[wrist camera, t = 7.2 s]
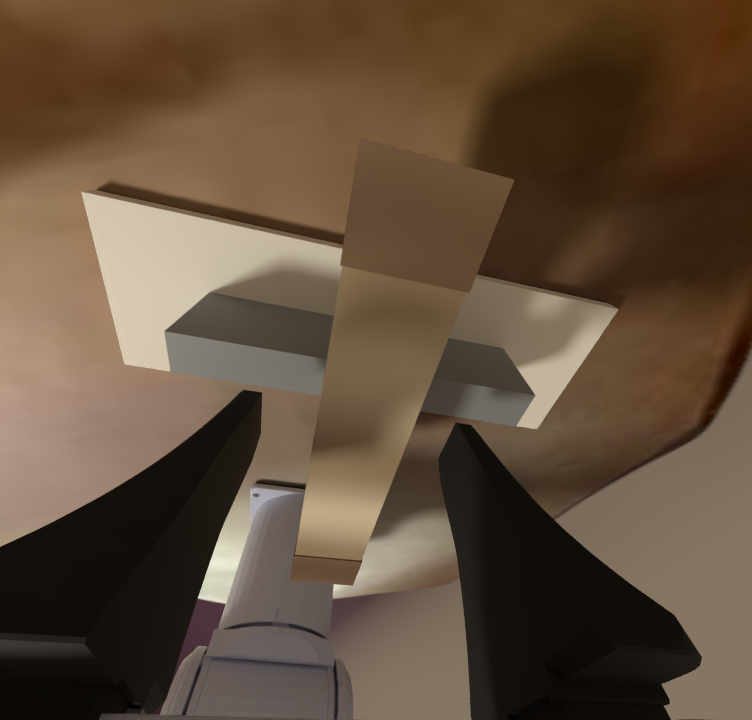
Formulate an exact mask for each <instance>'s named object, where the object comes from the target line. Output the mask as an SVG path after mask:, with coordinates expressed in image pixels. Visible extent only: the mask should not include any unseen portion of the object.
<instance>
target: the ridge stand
mask: <svg viewBox="0 0 752 720" xmlns="http://www.w3.org/2000/svg"><path fill="white" fill-rule="evenodd" d="M82 196H83V200H84V204H85V208H86V212H87V216H88V220H89V224H90V228H91V232H92V236H93V240H94V244H95V248H96V252H97V256H98V260H99V264H100V268H101V272H102V276H103V280H104V284H105V288H106V292H107V296H108V300H109V304H110V308H111V312H112V316H113V320H114V324H115V328H116V332H117V336H118V340H119V344H120V348H121V352H122V356H123V360H124V364H127V365H133V366H139V367H146V368H152V369H158V370H165V371H171V372H173V373H180V374H186V375H192V376H199V377H205V378H211V379H218V380H224V381H230V382H237V383H243V384H249V385H256V386H262V387H269V388H275V389H281V390H288V391H294V392H300V393H307V394H313V395H319V396H321V392H322V386H323V380H324V374H325V368H326V362H327V355H328V349H329V343H330V337H331V331H332V325H333V319H334V313H335V307H336V300H337V294H338V288H339V282H340V276H341V270H342V266H341V265H340V262H341V255H342V249H343V245H342V244H337V243H333V242H328V241H324V240H319V239H315V238H310V237H306V236H301V235H297V234H292V233H288V232H283V231H279V230H274V229H270V228H265V227H260V226H256V225H251V224H247V223H242V222H238V221H233V220H229V219H224V218H220V217H215V216H211V215H206V214H202V213H197V212H193V211H188V210H184V209H179V208H175V207H170V206H166V205H161V204H156V203H152V202H147V201H143V200H138V199H134V198H129V197H125V196H120V195H116V194H111V193H107V192H102V191H98V190H91V191H83V192H82ZM617 311H618V309H617V308H615V307H614V306H612V305H611V304H609V303H604V302H600V301H595V300H591V299H586V298H582V297H577V296H573V295H568V294H563V293H559V292H554V291H550V290H545V289H541V288H536V287H532V286H527V285H523V284H518V283H514V282H509V281H505V280H500V279H496V278H491V277H487V276H482V275H478V274H477V275H476V278H475V280H474V283H473V285H472V288H471V290H470V293H466V295H465V298H464V301H463V303H462V306H461V308H460V311H459V313H458V316H457V318H456V321H455V323H454V326H453V328H452V331H451V334H450V336H449V339H448V341H447V344H446V346H445V349H444V351H443V354H442V356H441V359H440V361H439V364H438V367H437V369H436V372H435V374H434V377H433V379H432V382H431V384H430V387H429V389H428V392H427V394H426V397H425V400H424V402H423V405H422V407H421V410H420V411H421V412H427V413H434V414H440V415H446V416H453V417H459V418H465V419H472V420H478V421H484V422H491V423H497V424H504V425H510V426H520V427H526V428H533V429H537V428H538V427H539V425H540V424H541V422H542V421H543V419H544V418H545V416H546V415H547V413H548V412H549V411H550V409H551V408H552V406H553V405H554V403H555V402H556V400H557V399H558V397H559V396H560V394H561V393H562V392H563V390H564V389H565V387H566V386H567V384H568V383H569V381H570V380H571V378H572V377H573V375H574V374H575V373H576V371H577V370H578V368H579V367H580V365H581V364H582V362H583V361H584V359H585V358H586V356H587V355H588V354H589V352H590V351H591V349H592V348H593V346H594V345H595V343H596V342H597V340H598V339H599V337H600V336H601V335H602V333H603V332H604V330H605V329H606V327H607V326H608V324H609V323H610V321H611V320H612V318H613V317H614V316H615V314H616V313H617Z"/></svg>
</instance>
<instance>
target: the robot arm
mask: <svg viewBox="0 0 752 720" xmlns="http://www.w3.org/2000/svg"><path fill="white" fill-rule="evenodd" d="M261 407H262V393H261V392H254V391H248V390H243V391H242V392H240V393H239V394H238V395H237V396H236V397H235V398H234V399H233V400H232V401H231V402H230V403H229V404H228V405H227V406H226V407H224V408H223V409H222V410H221V411H220V412H219V413H218V414H217V415H216V416H214V417H213V418H212V419H211V420H210V421H209V422H207V423H206V424H205V425H204V426H203V427H202V428H200V429H199V430H198V431H197V432H196V433H194V434H193V435H192V436H191V437H189V438H188V439H187V440H185V441H184V442H183V443H181V444H180V445H179V446H178V447H176V448H175V449H174V450H172V451H171V452H170V453H168V454H167V455H165V456H164V457H163V458H161V459H160V460H158V461H157V462H155V463H154V464H152V465H151V466H149V467H148V468H146V469H145V470H143V471H142V472H140V473H139V474H137V475H136V476H134V477H132V478H131V479H129V480H127V481H126V482H124V483H123V484H121V485H119V486H118V487H116V488H114V489H113V490H111V491H109V492H108V493H106V494H104V495H102V496H101V497H99V498H97V499H95V500H93V501H92V502H90V503H88V504H86V505H84V506H82V507H80V508H78V509H77V510H75V511H73V512H71V513H69V514H67V515H65V516H63V517H62V518H60V519H58V520H56V521H54V522H52V523H50V524H48V525H46V526H44V527H42V528H40V529H38V530H36V531H34V532H32V533H29V534H27V535H25V536H23V537H21V538H19V539H16V540H14V541H12V542H10V543H8V544H6V545H3V546H1V547H0V720H353V693H352V684H351V679H350V676H349V674H348V671H347V670H346V668H345V665H344V662H343V661H342V659H340V658H335V644H336V642H335V641H334V640H329V631H330V620H331V608H332V597H333V585H334V584H328V583H315V582H303V581H291V580H290V575H291V569H292V562H293V556H294V551H295V545H296V540H297V535H298V530H299V524H300V519H301V514H302V508H303V502H304V496H305V490H306V489H298V488H290V487H281V486H273V485H265V484H253V485H252V487H251V490H250V531H249V534H248V537H247V540H246V543H245V546H244V550H243V553H242V556H241V559H240V562H239V565H238V568H237V571H236V575H235V578H234V581H233V584H232V587H231V590H230V593H229V596H228V600H227V603H226V606H225V609H224V612H223V615H222V618H221V621H220V625H219V628H218V629H216V630H214V633H213V636H212V639H211V642H210V645H209V648H208V651H207V647H203V646H198V647H197V648H196V649H195V650H194V652H193V653H191V654H190V655H189V656H188V657H186V658H185V659H184V660H183V662H182V664H181V665H180V668H179V670H178V672H177V674H176V676H175V679H174V681H173V683H172V685H171V682H172V679H173V675H174V672H175V668H176V665H177V662H178V659H179V655H180V652H181V649H182V646H183V642H184V639H185V636H186V633H187V630H188V626H189V623H190V620H191V617H192V614H193V611H194V608H195V605H196V602H197V599H198V596H199V593H200V590H201V587H202V584H203V581H204V578H205V575H206V572H207V569H208V566H209V563H210V560H211V557H212V554H213V551H214V548H215V546H216V543H217V540H218V537H219V534H220V532H221V529H222V527H223V524H224V522H225V519H226V517H227V515H228V513H229V511H230V508H231V506H232V504H233V502H234V500H235V497H236V495H237V493H238V491H239V489H240V486H241V484H242V482H243V480H244V477H245V475H246V473H247V471H248V469H249V466H250V464H251V462H252V459H253V456H254V453H255V450H256V447H257V444H258V440H259V437H260V434H261ZM439 470H440V479H441V486H442V491H443V496H444V500H445V504H446V509H447V513H448V517H449V522H450V526H451V530H452V535H453V539H454V543H455V548H456V554H457V559H458V567H459V574H460V582H461V590H462V598H463V607H464V616H465V628H466V640H467V652H468V667H469V684H470V704H471V719H472V720H671V719H670V717H669V715H668V713H667V711H666V709H665V708H664V706H663V705H668V704H670V702H669V698H668V696H667V694H666V693H665V691H664V689H663V687H662V685H661V684H662V683H665V682H668V681H670V680H672V679H675V678H677V677H680V676H682V675H684V674H687V673H689V672H691V671H693V670H695V669H696V668H697V667H699V666H700V663H701V659H702V657H701V655H700V654H699V652H698V651H697V649H696V648H695V646H694V644H693V643H692V642H691V640H690V638H689V637H688V635H687V634H686V632H685V631H684V629H683V628H682V626H681V625H680V623H679V621H678V620H677V618H676V617H675V616H674V615H673V614H672V613H671V612H669V611H668V610H666V609H665V608H664V607H662V606H661V605H659V604H658V603H656V602H655V601H654V600H652V599H651V598H649V597H648V596H647V595H645V594H644V593H642V592H641V591H639V590H638V589H637V588H635V587H634V586H632V585H631V584H630V583H628V582H627V581H626V580H624V579H623V578H622V577H621V576H619V575H618V574H617V573H615V572H614V571H613V570H612V569H610V568H609V567H608V566H606V565H605V564H604V563H603V562H601V561H600V560H599V559H598V558H597V557H595V556H594V555H593V554H591V553H590V552H589V551H588V550H587V549H586V548H584V547H583V546H582V545H581V544H580V543H579V542H578V541H577V540H575V539H574V538H573V537H572V536H571V535H570V534H569V533H567V532H566V531H565V530H564V529H563V528H562V527H561V526H560V525H559V524H558V523H557V522H556V521H555V520H554V519H553V518H552V517H551V516H549V515H548V514H547V513H546V512H545V511H544V510H543V509H542V508H541V507H540V506H539V505H538V504H537V503H536V501H535V500H534V499H533V498H532V497H531V496H530V495H529V494H528V493H527V492H526V491H525V490H524V488H523V487H522V486H521V485H520V484H519V483H518V482H517V481H516V479H515V478H514V477H513V476H512V475H511V474H510V472H509V471H508V470H507V469H506V468H505V466H504V465H503V464H502V463H501V462H500V460H499V459H498V458H497V457H496V455H495V454H494V453H493V452H492V450H491V449H490V448H489V447H488V445H487V444H486V443H485V442H484V440H483V439H482V438H481V437H480V435H479V434H478V433H477V432H476V430H475V429H474V428H473V427H472V426H471V425H467V424H461V423H455V425H454V427H453V430H452V432H451V434H450V436H449V438H448V440H447V442H446V444H445V446H444V448H443V450H442V452H441V454H440V456H439ZM206 653H207V654H206ZM170 685H171V688H170ZM169 689H170V690H169ZM168 692H169V693H168ZM164 701H165V703H164V706H163V708H162V711H161V713H160V715H152V714H151V713H153V712H154V711H155V710H156V709H157V708H158V707H159V706H160V705H161V704H162V703H163V702H164ZM680 720H700V719H680ZM702 720H703V719H702Z"/></svg>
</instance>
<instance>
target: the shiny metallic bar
mask: <svg viewBox="0 0 752 720" xmlns="http://www.w3.org/2000/svg"><path fill="white" fill-rule="evenodd" d="M513 183H514V179H510V178H507V177H503V176H499V175H495V174H492V173H488V172H484V171H481V170H477V169H473V168H469V167H466V166H462V165H458V164H455V163H451V162H447V161H443V160H440V159H436V158H432V157H429V156H425V155H421V154H417V153H414V152H410V151H406V150H403V149H399V148H395V147H391V146H388V145H384V144H380V143H377V142H373V141H369V140H365V139H362V138H360V143H359V149H358V155H357V161H356V168H355V174H354V180H353V186H352V193H351V199H350V205H349V211H348V218H347V224H346V230H345V236H344V243H343V249H342V255H341V262H340V265H341V266H342V270H341V276H340V282H339V288H338V294H337V300H336V307H335V313H334V319H333V325H332V331H331V337H330V343H329V349H328V355H327V362H326V368H325V374H324V380H323V386H322V392H321V398H320V404H319V410H318V417H317V423H316V429H315V435H314V441H313V447H312V453H311V459H310V465H309V472H308V478H307V484H306V490H305V496H304V502H303V508H302V514H301V519H300V524H299V530H298V535H297V540H296V545H295V551H294V556H293V562H292V569H291V575H290V580H291V581H303V582H315V583H328V584H340V585H352V586H353V584H354V581H355V579H356V576H357V574H358V571H359V569H360V566H361V563H362V557H363V554H364V552H365V549H366V547H367V544H368V542H369V539H370V537H371V534H372V532H373V529H374V527H375V524H376V521H377V519H378V516H379V514H380V511H381V509H382V506H383V504H384V501H385V499H386V496H387V494H388V491H389V488H390V486H391V483H392V481H393V478H394V476H395V473H396V471H397V468H398V466H399V463H400V461H401V458H402V455H403V453H404V450H405V448H406V445H407V443H408V440H409V438H410V435H411V433H412V430H413V428H414V425H415V422H416V420H417V417H418V415H419V412H420V410H421V407H422V405H423V402H424V400H425V397H426V394H427V392H428V389H429V387H430V384H431V382H432V379H433V377H434V374H435V372H436V369H437V367H438V364H439V361H440V359H441V356H442V354H443V351H444V349H445V346H446V344H447V341H448V339H449V336H450V334H451V331H452V328H453V326H454V323H455V321H456V318H457V316H458V313H459V311H460V308H461V306H462V303H463V301H464V298H465V295H466V293H470V290H471V288H472V285H473V283H474V280H475V278H476V275H477V273H478V270H479V268H480V265H481V263H482V260H483V258H484V255H485V253H486V250H487V248H488V245H489V243H490V240H491V238H492V235H493V233H494V230H495V228H496V225H497V223H498V220H499V218H500V215H501V213H502V210H503V208H504V205H505V203H506V200H507V198H508V195H509V193H510V190H511V188H512V185H513Z"/></svg>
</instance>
